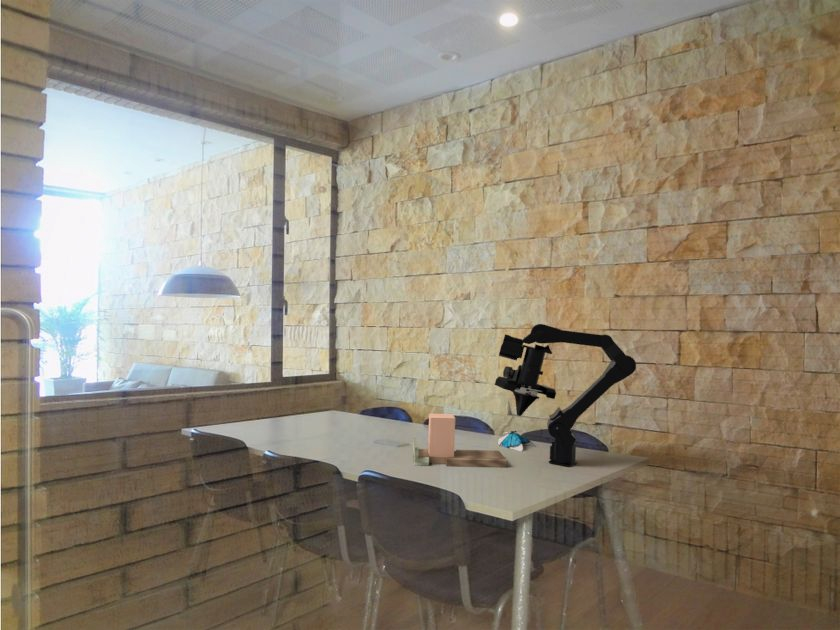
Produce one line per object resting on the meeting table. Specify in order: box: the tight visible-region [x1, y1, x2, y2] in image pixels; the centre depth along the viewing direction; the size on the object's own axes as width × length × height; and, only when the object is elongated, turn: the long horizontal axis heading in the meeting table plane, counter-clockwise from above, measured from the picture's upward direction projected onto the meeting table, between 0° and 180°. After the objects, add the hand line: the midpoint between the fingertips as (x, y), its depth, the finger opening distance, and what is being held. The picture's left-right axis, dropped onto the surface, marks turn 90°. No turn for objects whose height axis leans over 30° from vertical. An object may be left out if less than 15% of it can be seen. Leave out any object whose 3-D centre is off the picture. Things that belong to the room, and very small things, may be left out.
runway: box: [412, 438, 508, 468], centre depth 168 cm, size 26×12×5 cm, turn 93°
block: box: [427, 413, 456, 457], centre depth 168 cm, size 7×7×11 cm
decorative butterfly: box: [497, 430, 537, 452], centre depth 190 cm, size 10×6×10 cm
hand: (518, 415), depth 172 cm, fingers closed
